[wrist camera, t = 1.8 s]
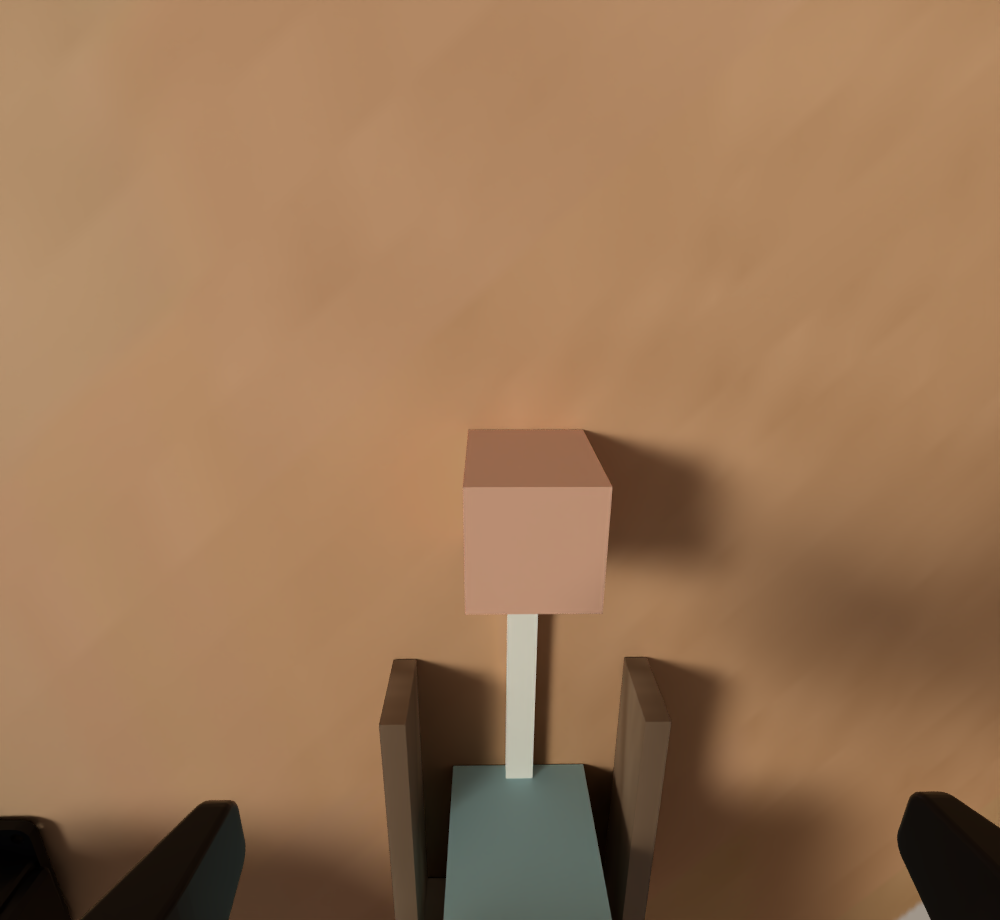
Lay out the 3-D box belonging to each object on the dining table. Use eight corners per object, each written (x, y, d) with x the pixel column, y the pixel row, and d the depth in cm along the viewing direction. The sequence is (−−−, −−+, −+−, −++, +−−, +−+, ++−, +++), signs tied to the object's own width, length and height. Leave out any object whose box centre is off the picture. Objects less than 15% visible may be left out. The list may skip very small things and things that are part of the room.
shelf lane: (409, 891, 25) (370, 1223, 16) (393, 659, 21) (329, 945, 12) (620, 887, 25) (688, 1214, 17) (646, 657, 21) (754, 936, 13)
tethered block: (455, 857, 24) (445, 1063, 18) (443, 429, 18) (421, 526, 12) (576, 855, 24) (606, 1059, 18) (607, 429, 18) (668, 525, 12)
